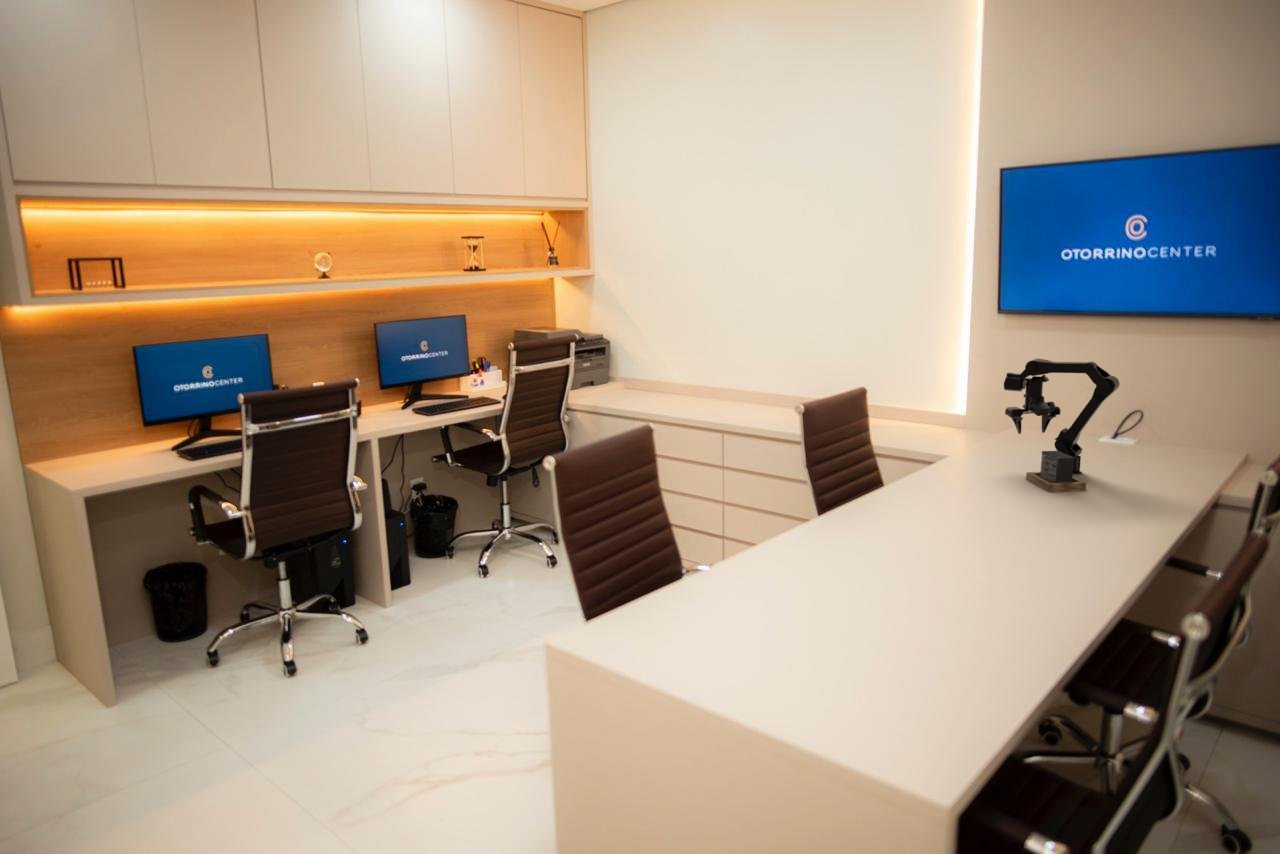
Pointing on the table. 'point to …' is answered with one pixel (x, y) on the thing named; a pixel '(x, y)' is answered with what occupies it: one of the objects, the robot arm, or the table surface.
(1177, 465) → the table surface
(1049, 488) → the walnut holder
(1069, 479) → the small box
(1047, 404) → the robot arm
